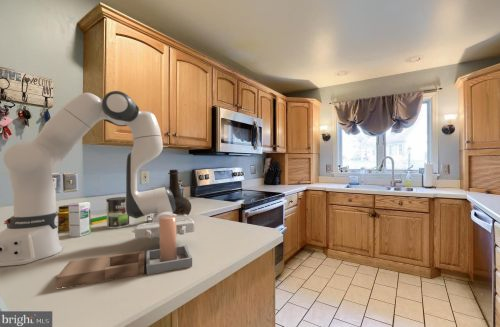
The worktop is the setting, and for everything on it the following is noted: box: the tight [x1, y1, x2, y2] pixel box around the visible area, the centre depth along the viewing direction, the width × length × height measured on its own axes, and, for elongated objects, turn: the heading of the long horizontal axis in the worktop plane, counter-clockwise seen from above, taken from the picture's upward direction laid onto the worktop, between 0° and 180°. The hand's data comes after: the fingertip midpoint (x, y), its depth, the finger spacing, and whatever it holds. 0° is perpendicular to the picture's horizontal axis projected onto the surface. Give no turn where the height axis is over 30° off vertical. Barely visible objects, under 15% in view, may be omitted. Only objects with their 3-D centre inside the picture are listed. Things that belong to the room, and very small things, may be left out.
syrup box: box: [68, 201, 92, 238], centre depth 107 cm, size 6×6×14 cm
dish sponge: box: [91, 215, 107, 226], centre depth 133 cm, size 7×14×2 cm, turn 152°
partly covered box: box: [55, 250, 146, 289], centre depth 69 cm, size 20×11×3 cm, turn 113°
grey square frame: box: [146, 244, 193, 275], centre depth 75 cm, size 13×13×2 cm
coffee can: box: [105, 196, 130, 229], centre depth 122 cm, size 10×10×14 cm
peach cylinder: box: [159, 216, 178, 263], centre depth 75 cm, size 5×5×14 cm
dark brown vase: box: [167, 169, 192, 216], centre depth 136 cm, size 18×18×28 cm
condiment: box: [57, 204, 70, 234], centre depth 115 cm, size 7×8×12 cm
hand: (167, 234), depth 80 cm, fingers open, 8 cm apart
